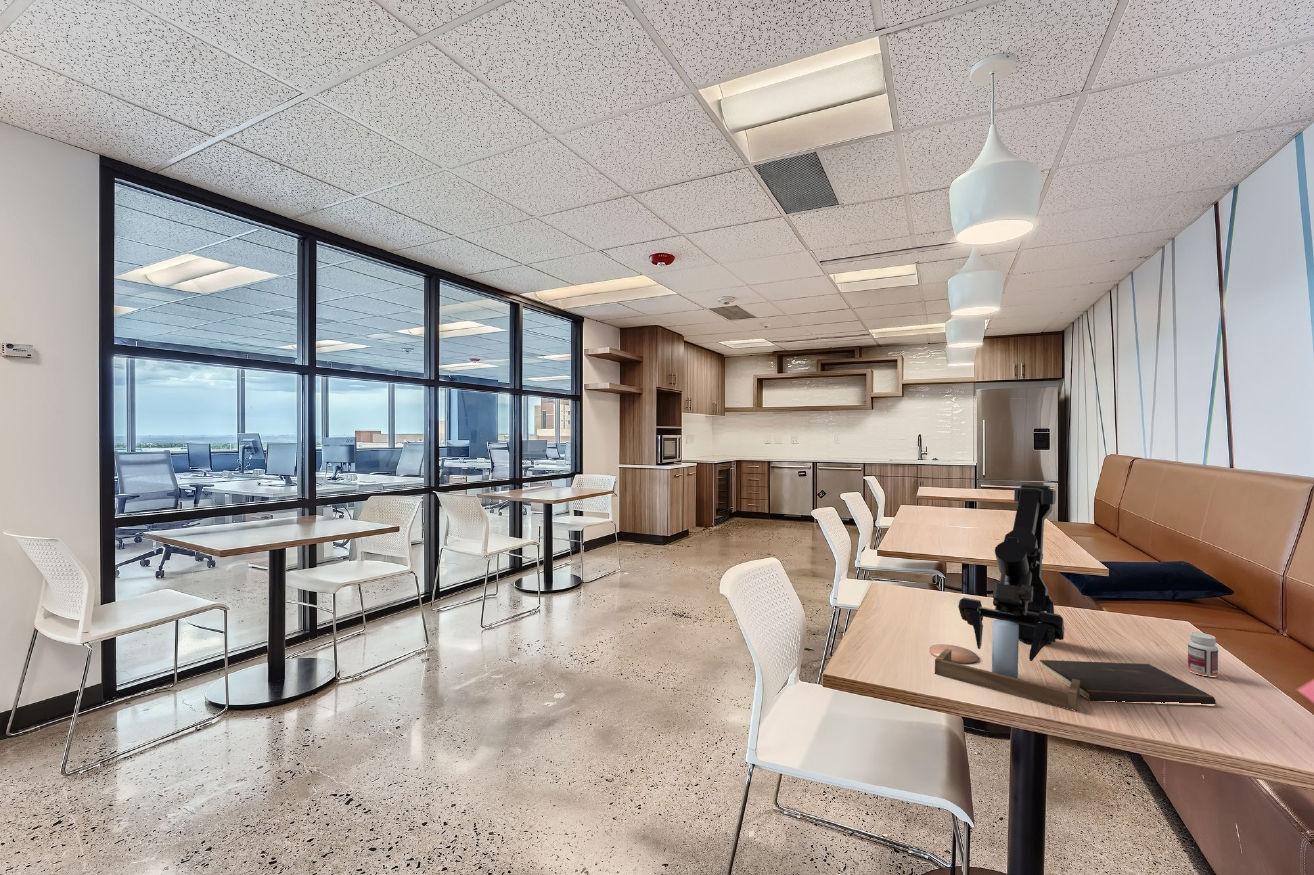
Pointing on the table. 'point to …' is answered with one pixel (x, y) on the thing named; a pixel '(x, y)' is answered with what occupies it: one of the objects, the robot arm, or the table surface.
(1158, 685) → the hardcover book
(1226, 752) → the table surface
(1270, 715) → the table surface
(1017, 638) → the blue canister
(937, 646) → the terracotta coaster
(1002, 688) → the walnut rack
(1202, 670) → the pill bottle
